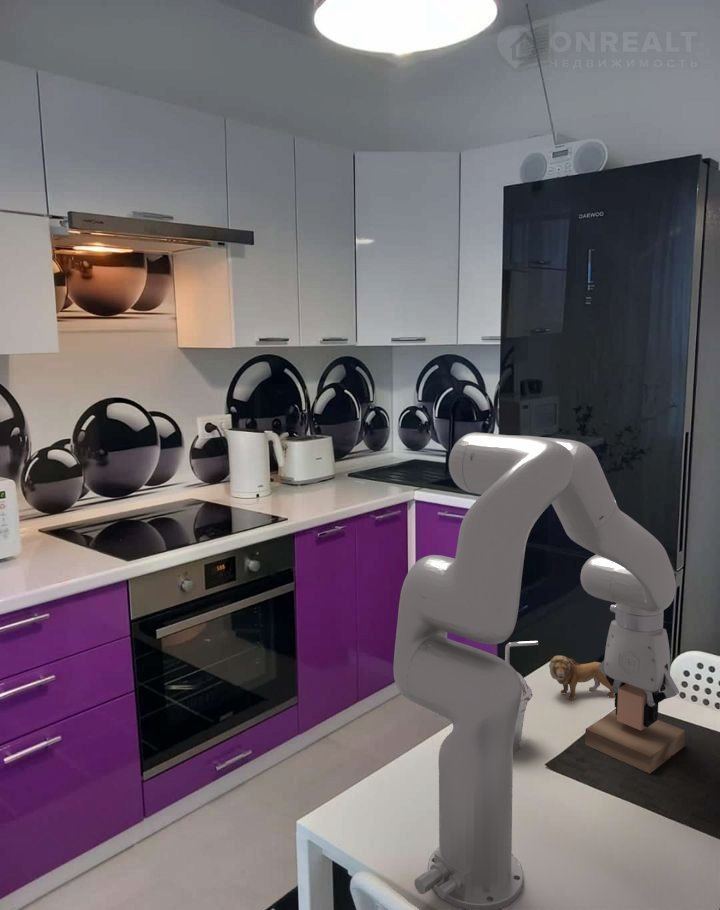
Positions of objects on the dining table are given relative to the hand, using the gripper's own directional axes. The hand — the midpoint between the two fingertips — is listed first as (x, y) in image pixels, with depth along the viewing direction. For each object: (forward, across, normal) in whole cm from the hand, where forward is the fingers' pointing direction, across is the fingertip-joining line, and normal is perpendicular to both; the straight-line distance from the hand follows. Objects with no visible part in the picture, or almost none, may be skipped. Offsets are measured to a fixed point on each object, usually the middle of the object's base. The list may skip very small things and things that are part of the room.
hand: (635, 717), depth 129 cm
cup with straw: (+5, -15, -16) cm, 23 cm away
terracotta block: (+1, 0, 0) cm, 1 cm away
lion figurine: (+6, -16, +9) cm, 19 cm away
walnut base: (+5, 0, 0) cm, 5 cm away
